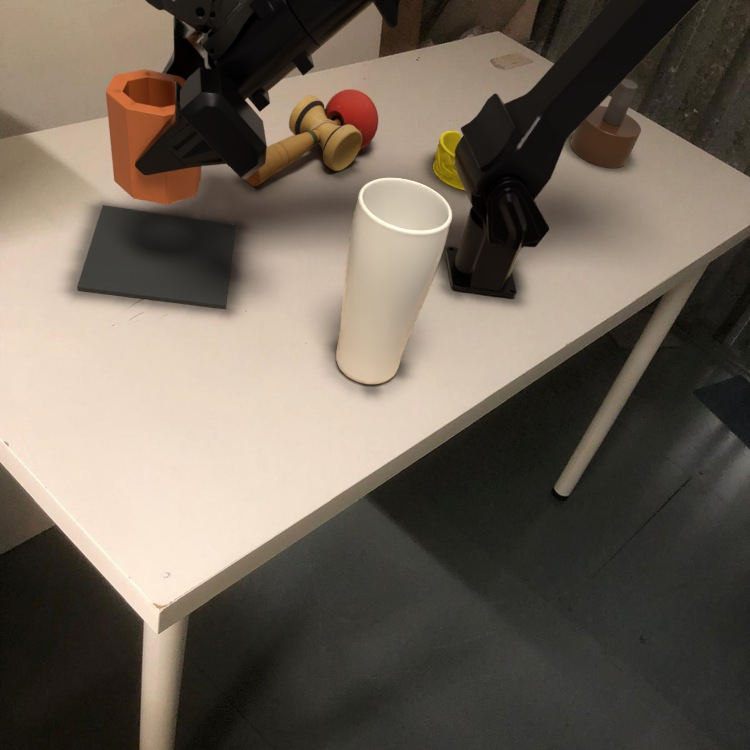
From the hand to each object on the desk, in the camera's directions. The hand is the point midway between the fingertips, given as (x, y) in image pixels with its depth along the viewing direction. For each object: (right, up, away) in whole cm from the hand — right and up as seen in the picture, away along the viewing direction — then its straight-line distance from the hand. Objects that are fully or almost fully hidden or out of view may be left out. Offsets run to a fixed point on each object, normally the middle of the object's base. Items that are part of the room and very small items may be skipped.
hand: (140, 144), depth 58 cm
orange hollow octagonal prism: (+1, -2, +2) cm, 3 cm away
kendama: (+11, +9, +23) cm, 27 cm away
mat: (-1, -6, +8) cm, 10 cm away
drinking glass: (+17, -16, +5) cm, 24 cm away
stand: (+47, +17, +38) cm, 63 cm away
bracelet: (+29, +10, +28) cm, 41 cm away
